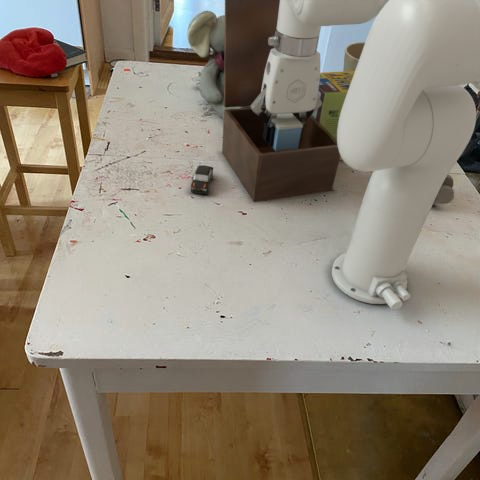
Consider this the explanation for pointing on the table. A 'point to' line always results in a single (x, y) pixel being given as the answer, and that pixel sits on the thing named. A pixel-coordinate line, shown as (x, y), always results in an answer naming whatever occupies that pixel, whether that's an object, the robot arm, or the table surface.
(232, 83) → the lid
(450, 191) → the figurine character
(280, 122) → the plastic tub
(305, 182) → the chest
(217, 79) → the plush elephant
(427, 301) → the table surface
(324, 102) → the protein box
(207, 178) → the toy car
